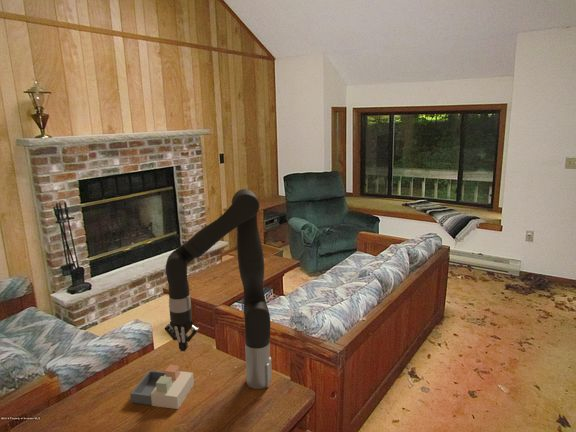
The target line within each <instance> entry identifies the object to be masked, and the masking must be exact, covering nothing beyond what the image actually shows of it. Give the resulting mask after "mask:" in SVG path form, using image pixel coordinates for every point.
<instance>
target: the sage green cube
mask: <svg viewBox="0 0 576 432" xmlns="http://www.w3.org/2000/svg"><path fill="white" fill-rule="evenodd" d="M171 387H172V378H171V377H166V376H161V377H160V378H159V379H158V381H157V382H156V389H157V391H158V392H166V393H167V392H168V391H169V389H170V388H171Z"/></svg>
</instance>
